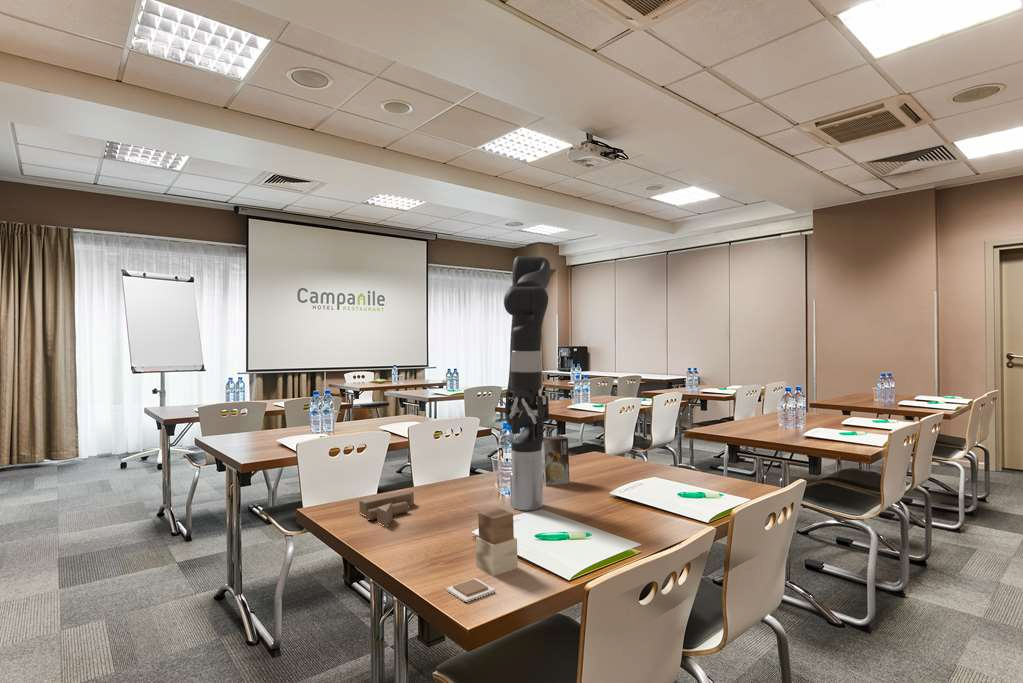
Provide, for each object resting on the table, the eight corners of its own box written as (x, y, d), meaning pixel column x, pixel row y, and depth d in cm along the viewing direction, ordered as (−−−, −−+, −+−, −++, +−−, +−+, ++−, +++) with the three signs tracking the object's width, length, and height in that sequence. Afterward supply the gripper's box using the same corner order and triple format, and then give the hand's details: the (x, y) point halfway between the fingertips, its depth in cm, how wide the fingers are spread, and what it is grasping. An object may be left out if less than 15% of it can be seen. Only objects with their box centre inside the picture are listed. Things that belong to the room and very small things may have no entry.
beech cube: (476, 566, 119) (475, 537, 119) (499, 559, 123) (499, 530, 123) (493, 576, 113) (492, 545, 114) (517, 568, 117) (517, 538, 118)
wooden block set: (355, 497, 158) (410, 486, 170) (356, 516, 158) (410, 504, 170) (382, 509, 145) (438, 496, 157) (382, 530, 145) (439, 515, 157)
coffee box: (563, 479, 194) (562, 435, 194) (570, 484, 188) (569, 438, 188) (539, 482, 192) (538, 437, 192) (545, 486, 186) (544, 439, 186)
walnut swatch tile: (446, 590, 107) (446, 585, 107) (475, 580, 111) (475, 575, 111) (465, 603, 102) (465, 598, 102) (495, 592, 106) (495, 587, 106)
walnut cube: (478, 537, 118) (478, 512, 119) (498, 532, 122) (498, 507, 122) (493, 544, 114) (493, 518, 114) (513, 538, 118) (513, 513, 118)
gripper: (557, 370, 126) (557, 439, 126) (520, 367, 137) (521, 430, 138) (532, 372, 121) (532, 443, 122) (496, 368, 133) (496, 433, 133)
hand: (526, 436), depth 130 cm, fingers open, 8 cm apart
